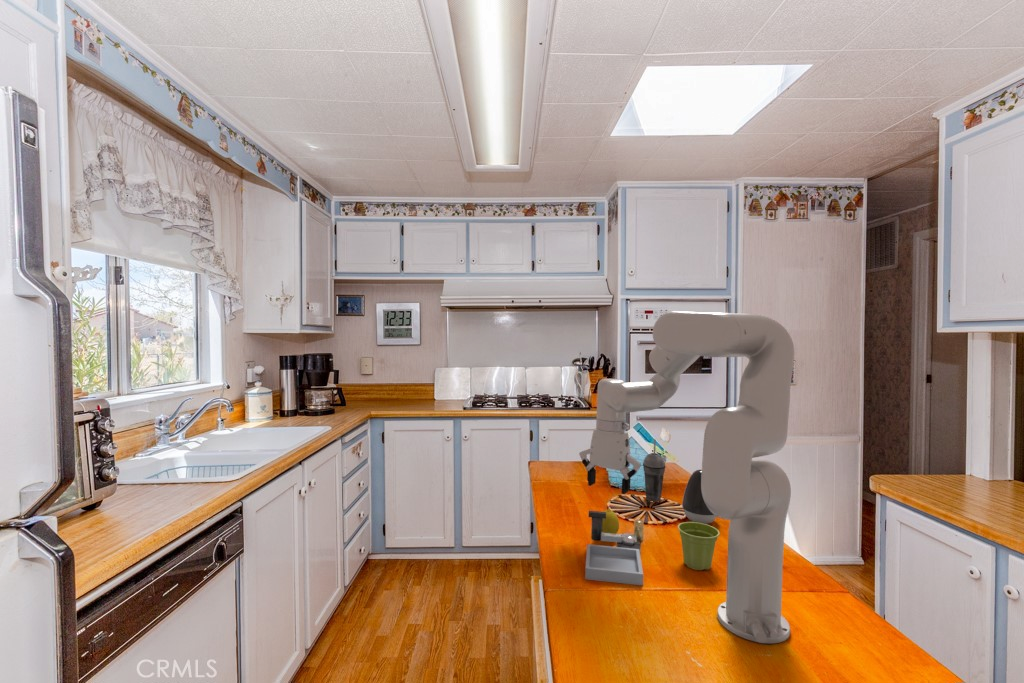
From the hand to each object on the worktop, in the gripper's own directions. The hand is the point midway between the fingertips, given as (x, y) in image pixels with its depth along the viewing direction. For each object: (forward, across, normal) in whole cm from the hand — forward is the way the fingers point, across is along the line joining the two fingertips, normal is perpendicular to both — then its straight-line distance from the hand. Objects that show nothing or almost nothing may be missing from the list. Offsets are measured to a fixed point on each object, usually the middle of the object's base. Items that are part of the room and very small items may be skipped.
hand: (608, 488), depth 133 cm
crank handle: (+11, -4, +5) cm, 13 cm away
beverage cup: (+14, 0, -37) cm, 39 cm away
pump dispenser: (+14, -17, -28) cm, 36 cm away
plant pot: (+13, -24, 0) cm, 27 cm away
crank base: (+13, -7, +1) cm, 15 cm away
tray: (+13, -9, +15) cm, 22 cm away
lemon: (+14, -1, 0) cm, 14 cm away
